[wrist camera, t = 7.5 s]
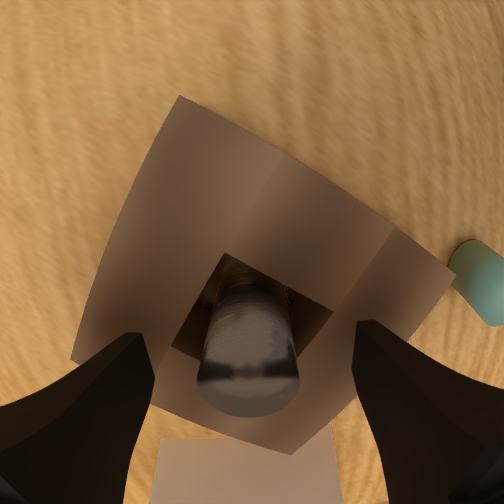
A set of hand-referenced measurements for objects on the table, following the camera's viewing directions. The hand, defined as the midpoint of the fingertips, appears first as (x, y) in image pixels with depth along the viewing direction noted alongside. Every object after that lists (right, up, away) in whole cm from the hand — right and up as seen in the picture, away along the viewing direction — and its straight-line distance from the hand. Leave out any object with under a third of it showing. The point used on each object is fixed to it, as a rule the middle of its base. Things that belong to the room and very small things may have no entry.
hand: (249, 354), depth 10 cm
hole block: (0, +2, +5) cm, 5 cm away
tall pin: (0, +2, +5) cm, 6 cm away
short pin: (+12, +3, +5) cm, 13 cm away
